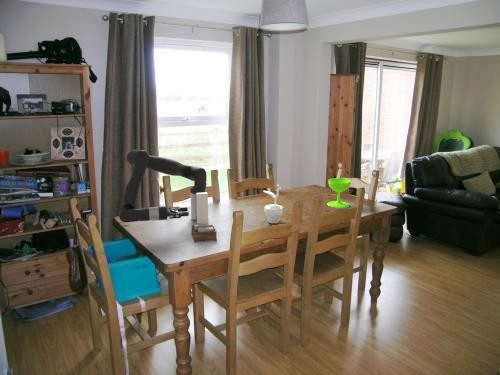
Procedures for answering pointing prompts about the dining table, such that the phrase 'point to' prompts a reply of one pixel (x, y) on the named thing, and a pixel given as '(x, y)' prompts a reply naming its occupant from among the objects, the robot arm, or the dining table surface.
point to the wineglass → (339, 186)
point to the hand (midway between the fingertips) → (188, 211)
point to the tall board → (202, 208)
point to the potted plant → (273, 208)
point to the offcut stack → (204, 227)
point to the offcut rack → (203, 235)
